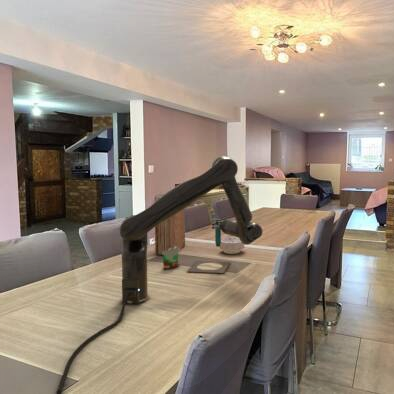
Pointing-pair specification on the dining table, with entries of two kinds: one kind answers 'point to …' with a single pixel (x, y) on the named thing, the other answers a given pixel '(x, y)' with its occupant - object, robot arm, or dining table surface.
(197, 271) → the square plate with hole
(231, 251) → the paper bowls
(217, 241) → the marker
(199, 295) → the dining table surface
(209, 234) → the dining table surface
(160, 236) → the brown wooden block
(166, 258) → the potted plant
